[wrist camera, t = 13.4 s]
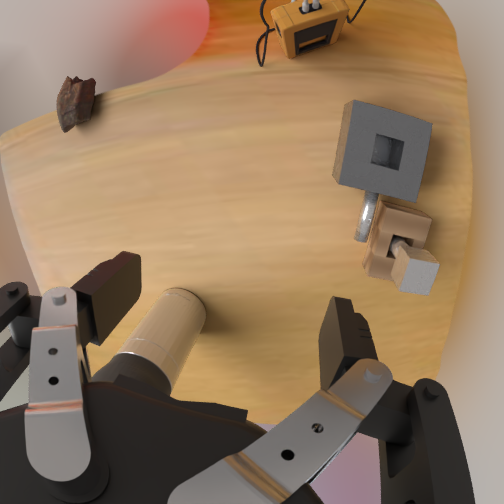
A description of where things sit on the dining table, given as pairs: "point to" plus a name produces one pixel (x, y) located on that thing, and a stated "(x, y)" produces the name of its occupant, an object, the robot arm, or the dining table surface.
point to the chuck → (380, 156)
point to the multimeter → (306, 25)
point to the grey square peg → (412, 267)
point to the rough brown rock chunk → (75, 102)
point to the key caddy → (386, 224)
